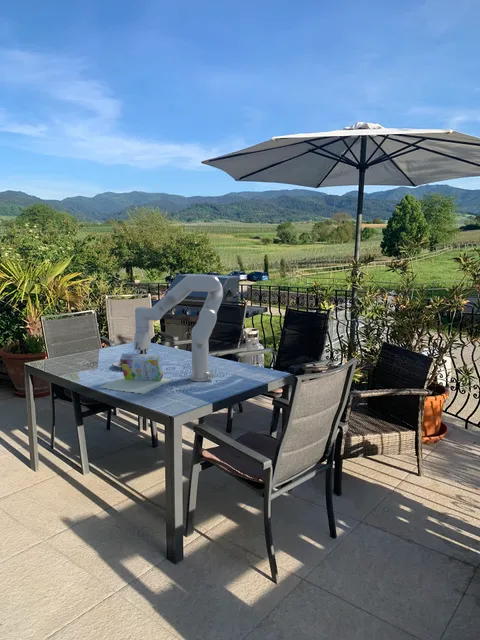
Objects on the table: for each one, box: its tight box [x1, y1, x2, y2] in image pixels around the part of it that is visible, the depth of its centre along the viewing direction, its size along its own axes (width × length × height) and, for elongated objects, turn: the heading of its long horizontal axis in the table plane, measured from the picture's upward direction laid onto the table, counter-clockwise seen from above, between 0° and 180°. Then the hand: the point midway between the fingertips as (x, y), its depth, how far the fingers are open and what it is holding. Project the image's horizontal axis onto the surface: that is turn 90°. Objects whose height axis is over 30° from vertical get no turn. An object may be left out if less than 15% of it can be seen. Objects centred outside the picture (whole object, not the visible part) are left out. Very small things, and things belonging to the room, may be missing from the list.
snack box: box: [119, 353, 164, 381], centre depth 237 cm, size 21×6×15 cm, turn 84°
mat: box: [100, 376, 172, 395], centre depth 234 cm, size 28×27×1 cm
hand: (143, 361), depth 240 cm, fingers closed
